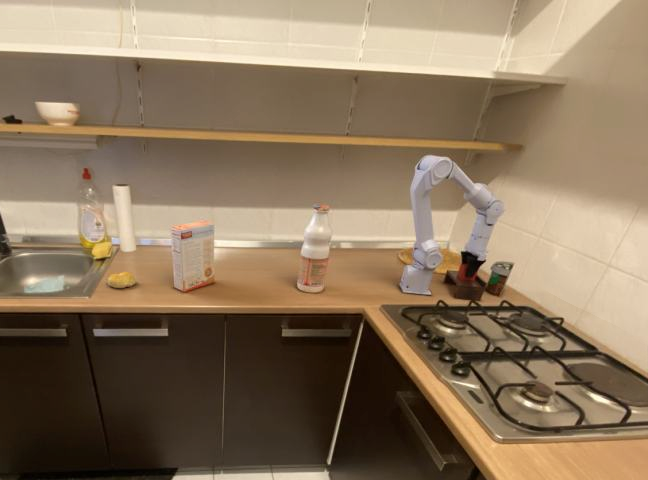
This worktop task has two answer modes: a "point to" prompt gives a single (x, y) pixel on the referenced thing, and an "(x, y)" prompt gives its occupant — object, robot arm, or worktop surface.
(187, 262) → the cracker box
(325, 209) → the fruit juice
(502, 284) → the food container
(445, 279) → the dark brown storage bin
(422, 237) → the robot arm
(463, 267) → the block
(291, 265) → the worktop surface
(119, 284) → the bread roll
